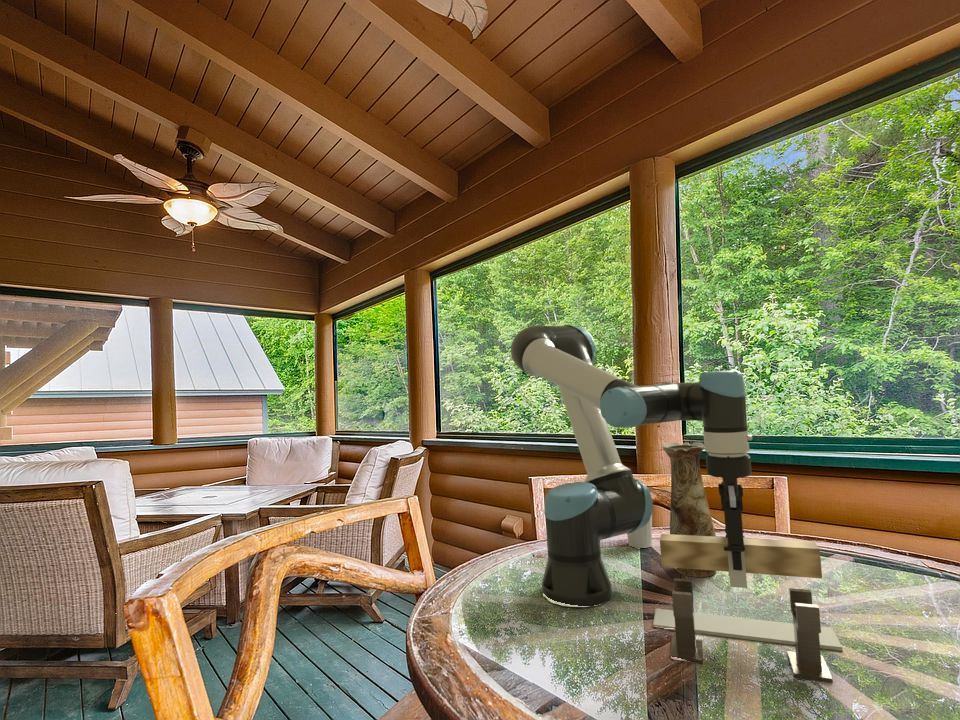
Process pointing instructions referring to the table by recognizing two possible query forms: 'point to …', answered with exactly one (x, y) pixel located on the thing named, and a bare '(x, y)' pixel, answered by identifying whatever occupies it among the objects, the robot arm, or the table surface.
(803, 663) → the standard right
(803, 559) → the rail
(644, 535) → the cup
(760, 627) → the cream flat board
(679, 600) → the standard left
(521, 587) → the table surface
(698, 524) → the vase
